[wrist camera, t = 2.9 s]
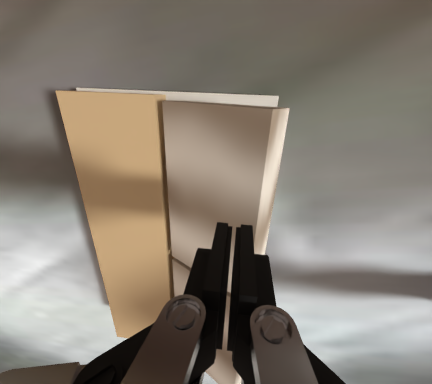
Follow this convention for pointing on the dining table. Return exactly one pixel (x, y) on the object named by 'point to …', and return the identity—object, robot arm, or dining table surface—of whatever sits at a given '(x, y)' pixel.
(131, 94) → the floor board
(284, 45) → the dining table surface
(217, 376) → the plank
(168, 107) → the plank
